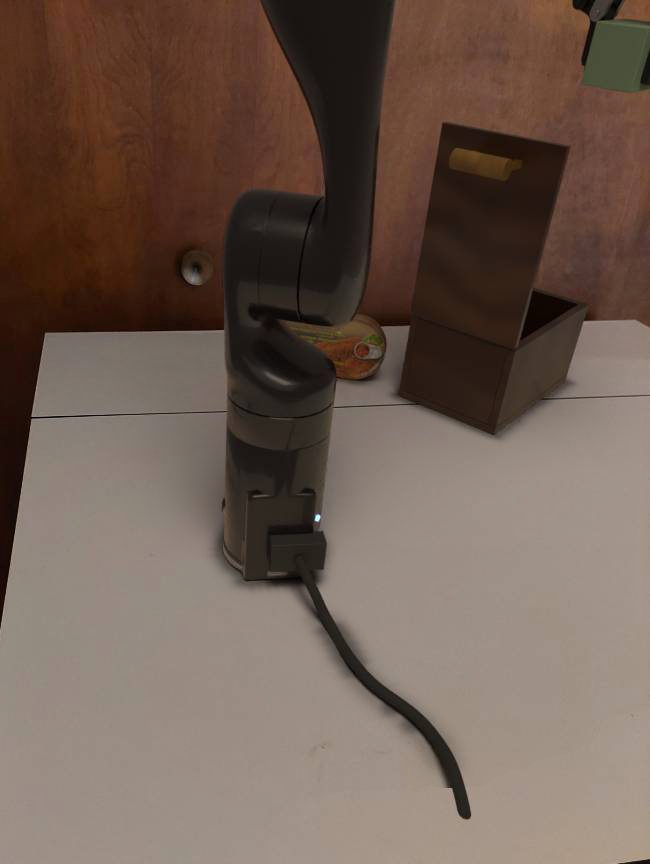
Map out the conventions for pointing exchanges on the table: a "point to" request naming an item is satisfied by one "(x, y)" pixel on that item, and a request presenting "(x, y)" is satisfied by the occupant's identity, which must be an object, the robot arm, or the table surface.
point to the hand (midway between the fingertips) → (620, 77)
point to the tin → (348, 345)
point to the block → (618, 55)
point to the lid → (486, 229)
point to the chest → (491, 364)
